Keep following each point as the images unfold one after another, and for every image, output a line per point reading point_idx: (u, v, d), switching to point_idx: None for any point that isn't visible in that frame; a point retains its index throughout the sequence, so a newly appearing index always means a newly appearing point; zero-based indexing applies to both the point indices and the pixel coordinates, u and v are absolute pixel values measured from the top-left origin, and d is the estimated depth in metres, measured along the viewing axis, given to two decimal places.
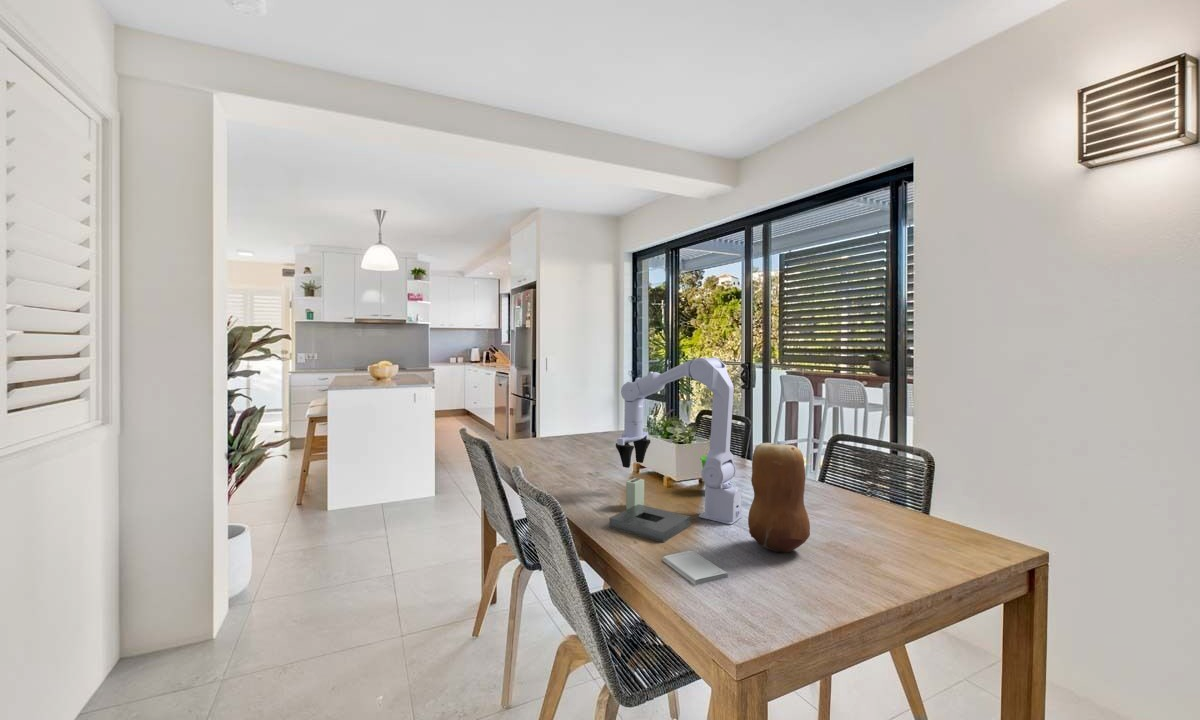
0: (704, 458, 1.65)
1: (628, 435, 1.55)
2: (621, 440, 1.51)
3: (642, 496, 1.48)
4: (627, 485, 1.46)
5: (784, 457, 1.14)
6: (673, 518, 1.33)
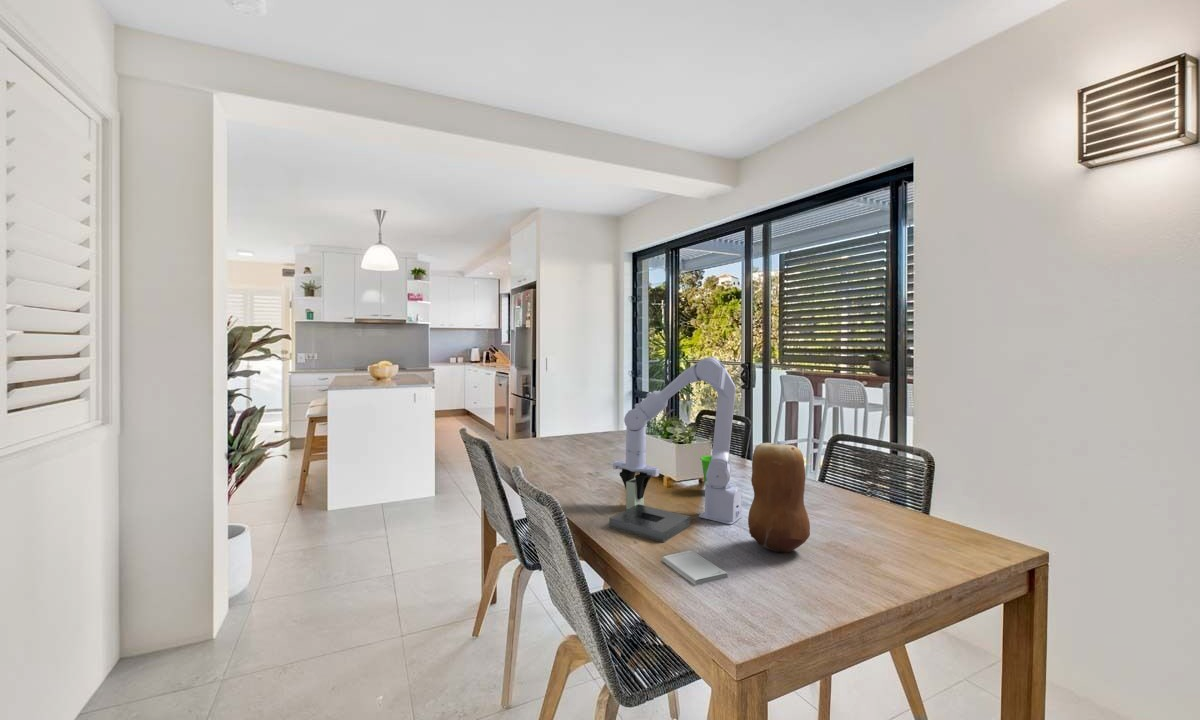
0: (704, 458, 1.65)
1: None
2: None
3: None
4: (627, 485, 1.46)
5: (784, 457, 1.14)
6: (673, 518, 1.33)
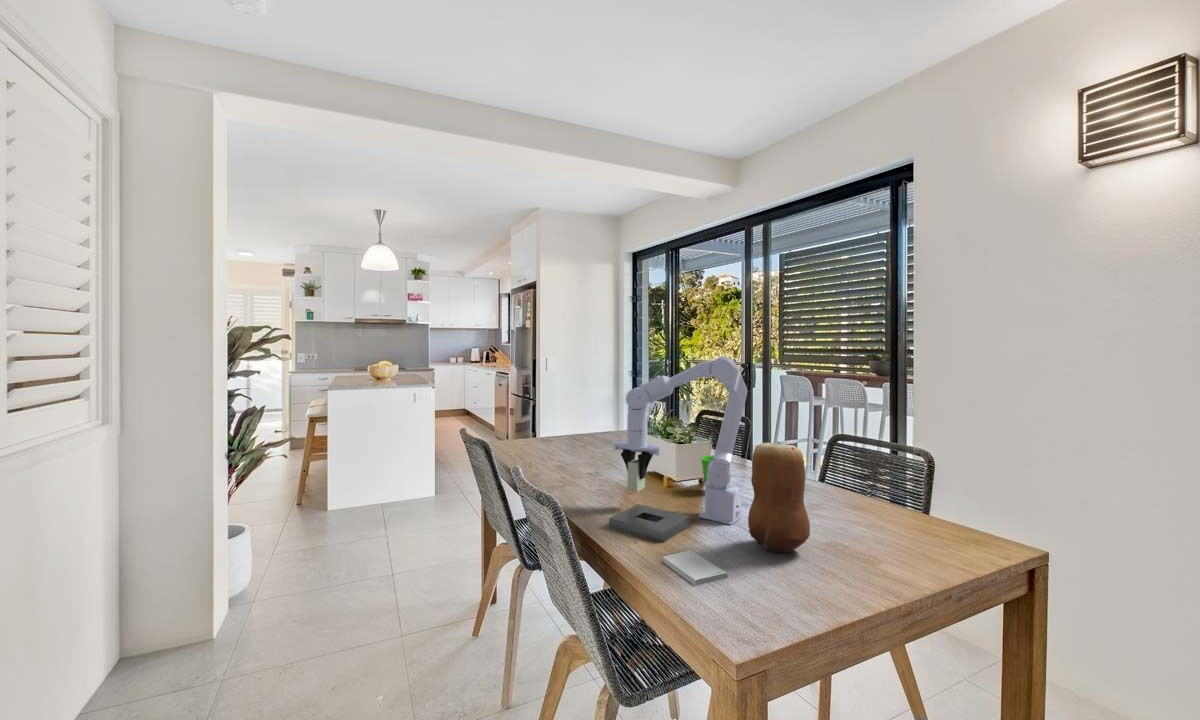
0: (704, 458, 1.65)
1: None
2: None
3: None
4: (629, 466, 1.44)
5: (784, 457, 1.14)
6: (673, 518, 1.33)
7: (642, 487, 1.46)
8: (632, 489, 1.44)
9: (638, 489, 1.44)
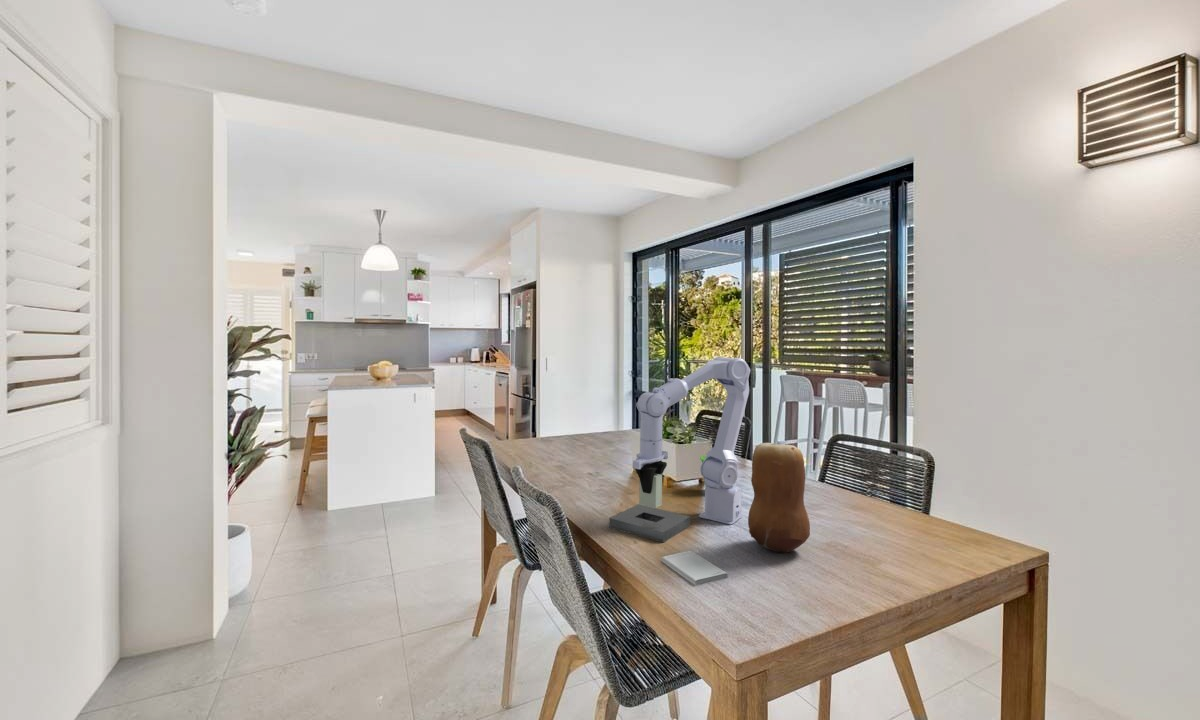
0: (704, 458, 1.65)
1: (645, 456, 1.30)
2: (637, 463, 1.26)
3: None
4: (657, 480, 1.30)
5: (784, 457, 1.14)
6: (673, 518, 1.33)
7: None
8: (658, 504, 1.31)
9: None
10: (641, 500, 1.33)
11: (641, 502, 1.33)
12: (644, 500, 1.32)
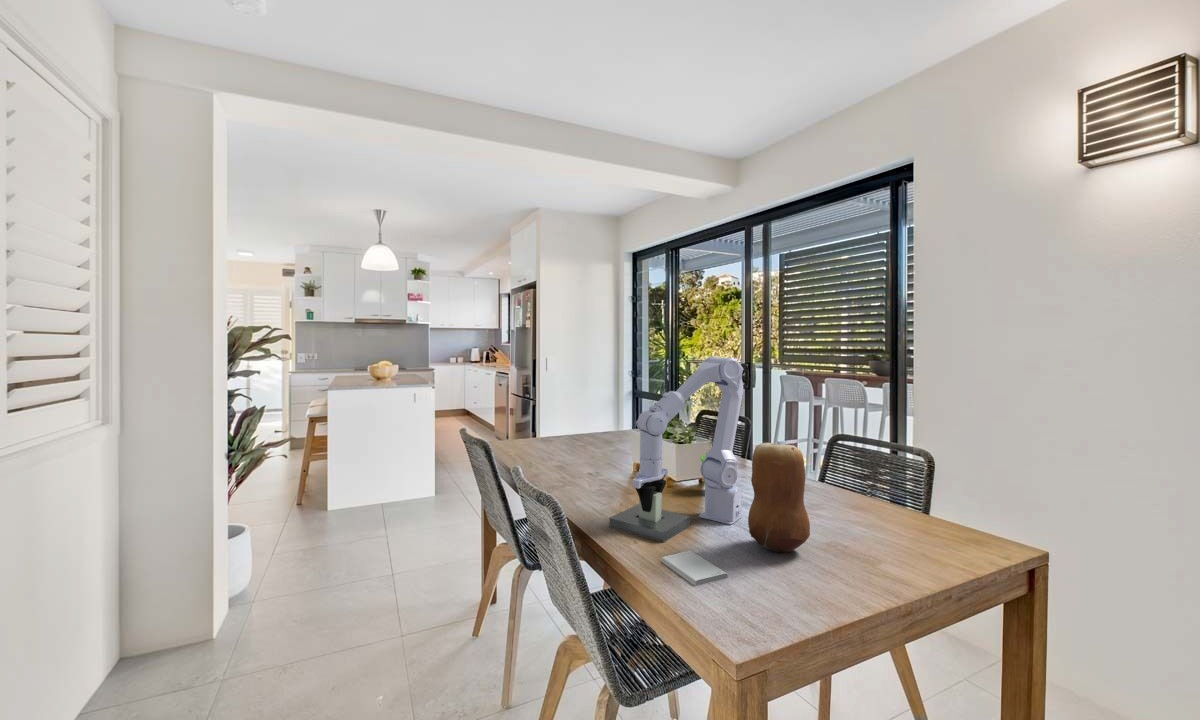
0: (704, 458, 1.65)
1: (645, 475, 1.30)
2: (637, 482, 1.27)
3: None
4: (656, 499, 1.31)
5: (784, 457, 1.14)
6: (673, 518, 1.33)
7: None
8: None
9: None
10: (641, 518, 1.33)
11: None
12: (643, 518, 1.32)
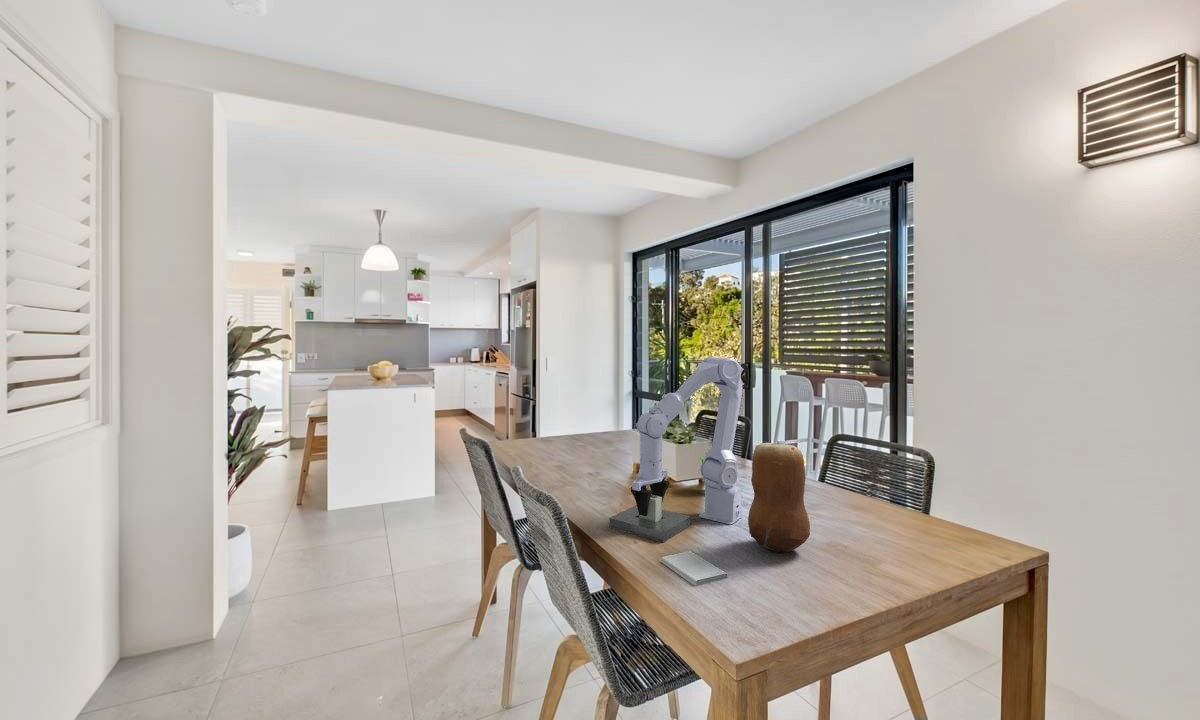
0: (704, 458, 1.65)
1: (645, 477, 1.30)
2: (637, 484, 1.27)
3: None
4: (656, 503, 1.31)
5: (784, 457, 1.14)
6: (673, 518, 1.33)
7: None
8: None
9: None
10: None
11: None
12: None
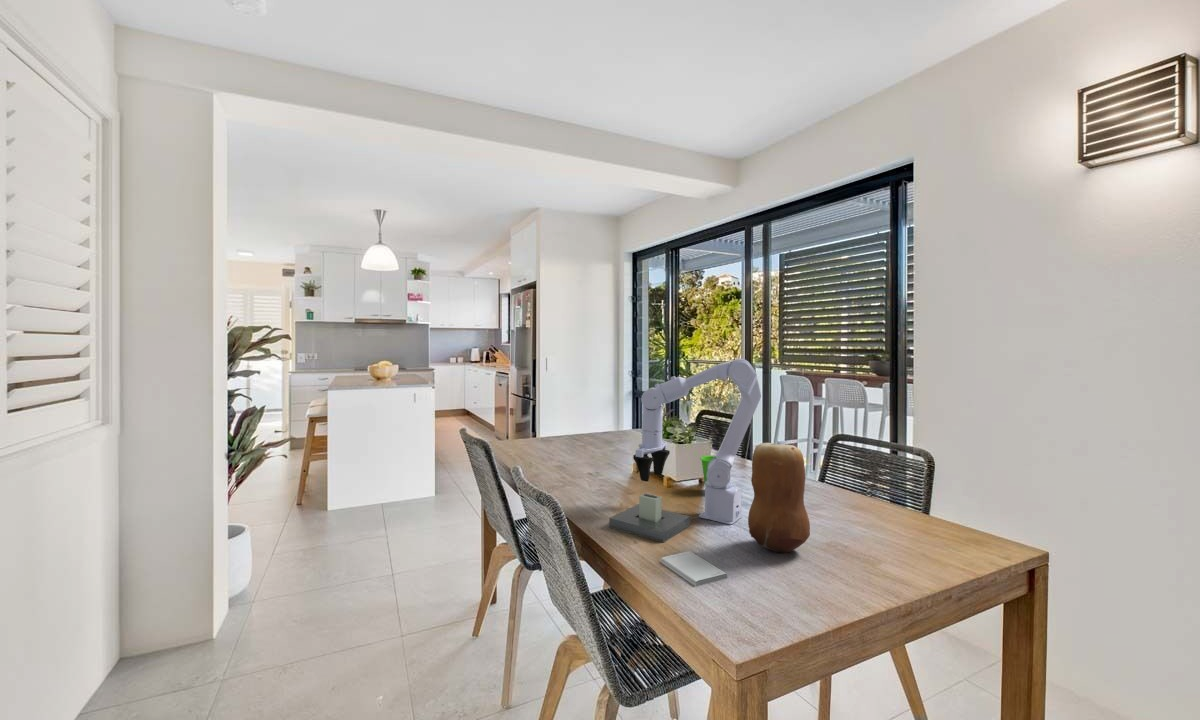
0: (704, 458, 1.65)
1: (647, 446, 1.43)
2: (640, 452, 1.39)
3: None
4: (656, 503, 1.31)
5: (784, 457, 1.14)
6: (673, 518, 1.33)
7: None
8: None
9: None
10: None
11: None
12: None
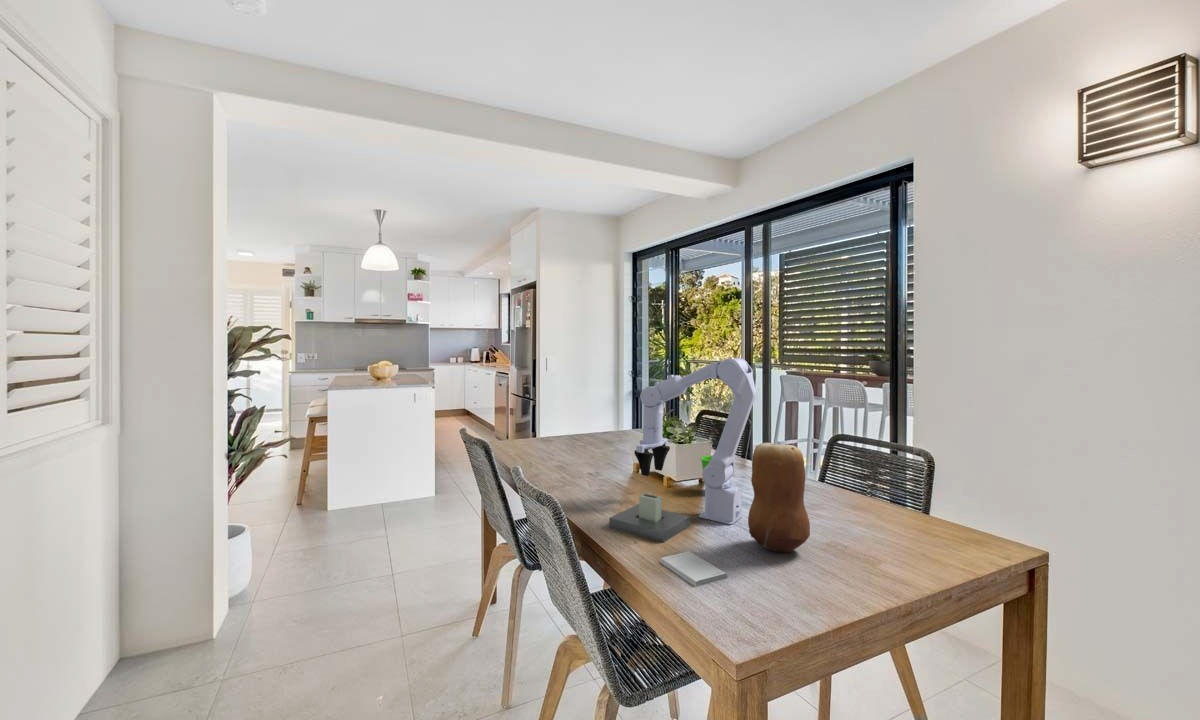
0: (704, 458, 1.65)
1: (647, 442, 1.48)
2: (640, 447, 1.45)
3: None
4: (656, 503, 1.31)
5: (784, 457, 1.14)
6: (673, 518, 1.33)
7: None
8: None
9: None
10: None
11: None
12: None
